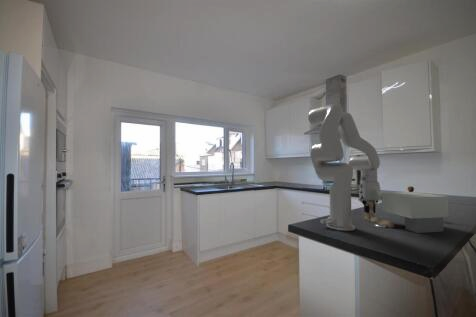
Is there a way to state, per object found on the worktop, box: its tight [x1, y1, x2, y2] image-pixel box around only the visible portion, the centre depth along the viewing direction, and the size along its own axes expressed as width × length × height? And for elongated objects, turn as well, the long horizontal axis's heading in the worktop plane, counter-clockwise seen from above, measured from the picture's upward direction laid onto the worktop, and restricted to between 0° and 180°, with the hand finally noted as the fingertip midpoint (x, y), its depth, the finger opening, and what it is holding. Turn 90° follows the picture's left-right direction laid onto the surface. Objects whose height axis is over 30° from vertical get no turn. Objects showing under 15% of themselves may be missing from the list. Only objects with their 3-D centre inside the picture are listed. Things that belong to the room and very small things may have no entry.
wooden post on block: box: [364, 200, 395, 228], centre depth 111 cm, size 16×3×12 cm, turn 9°
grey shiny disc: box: [374, 223, 388, 229], centre depth 105 cm, size 5×5×1 cm
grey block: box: [381, 191, 449, 234], centre depth 105 cm, size 20×17×16 cm
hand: (369, 212), depth 117 cm, fingers closed on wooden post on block, 3 cm apart
